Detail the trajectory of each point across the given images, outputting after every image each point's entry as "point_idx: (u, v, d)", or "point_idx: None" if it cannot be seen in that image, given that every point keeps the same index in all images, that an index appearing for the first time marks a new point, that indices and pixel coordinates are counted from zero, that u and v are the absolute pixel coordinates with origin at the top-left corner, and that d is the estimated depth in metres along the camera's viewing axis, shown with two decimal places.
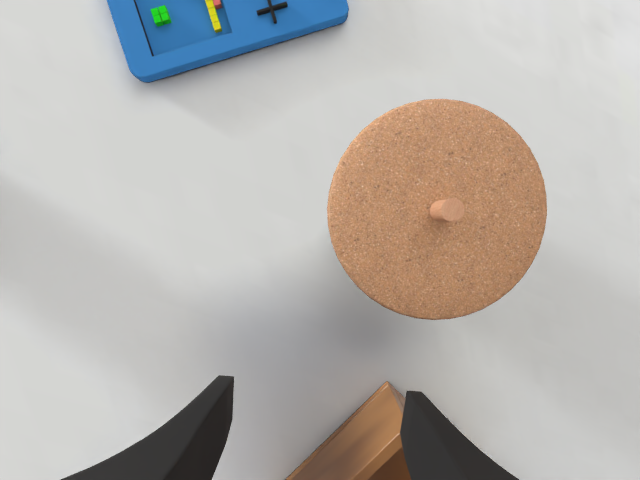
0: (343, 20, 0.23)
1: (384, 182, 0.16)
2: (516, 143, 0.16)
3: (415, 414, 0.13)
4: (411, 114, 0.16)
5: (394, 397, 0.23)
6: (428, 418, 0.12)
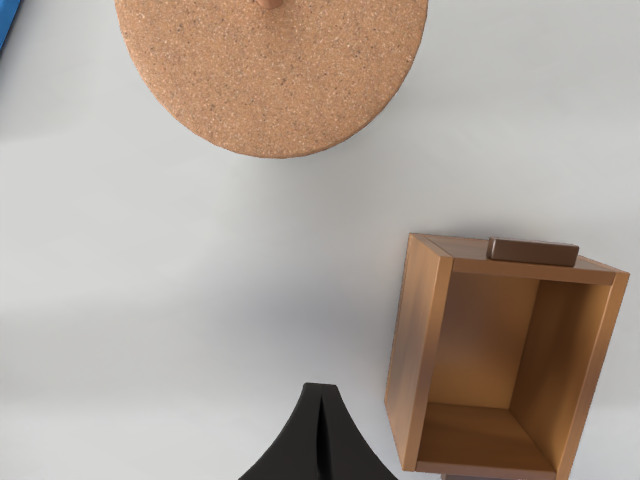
0: None
1: (183, 14, 0.11)
2: None
3: (321, 406, 0.13)
4: None
5: (420, 241, 0.19)
6: (327, 410, 0.12)
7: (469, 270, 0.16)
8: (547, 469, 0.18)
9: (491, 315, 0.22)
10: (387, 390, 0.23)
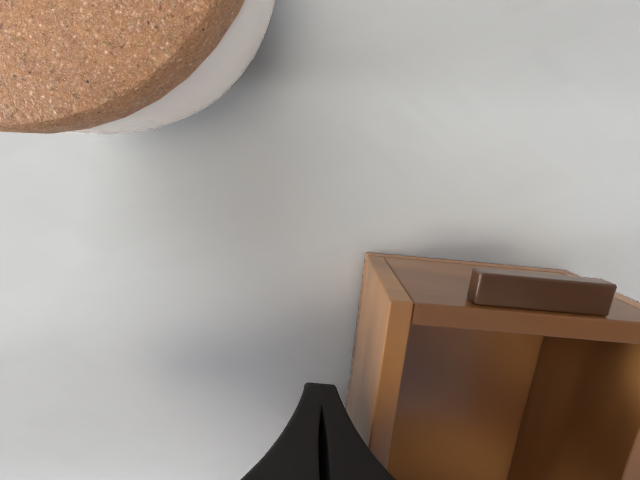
0: None
1: None
2: None
3: None
4: None
5: (374, 268, 0.13)
6: (325, 410, 0.12)
7: (439, 323, 0.10)
8: None
9: (480, 365, 0.16)
10: None
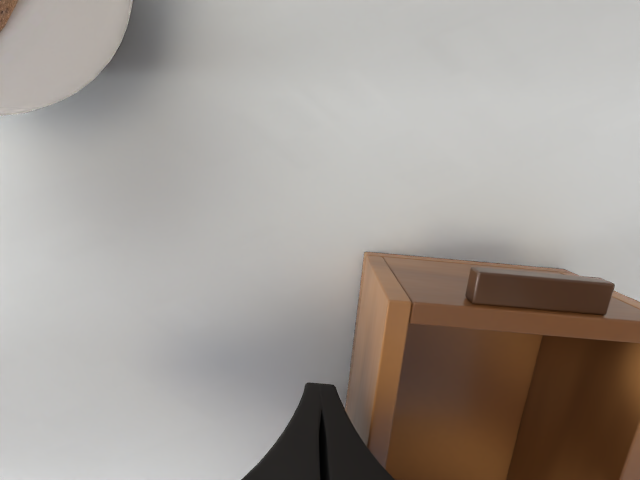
0: None
1: None
2: None
3: None
4: None
5: (373, 267, 0.13)
6: (324, 410, 0.12)
7: (437, 322, 0.10)
8: None
9: (479, 365, 0.16)
10: None
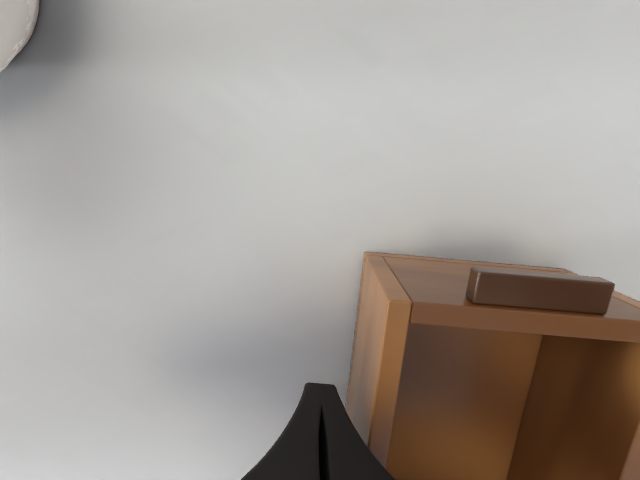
0: None
1: None
2: None
3: None
4: None
5: (373, 267, 0.13)
6: (325, 410, 0.12)
7: (437, 322, 0.10)
8: None
9: (479, 364, 0.16)
10: None
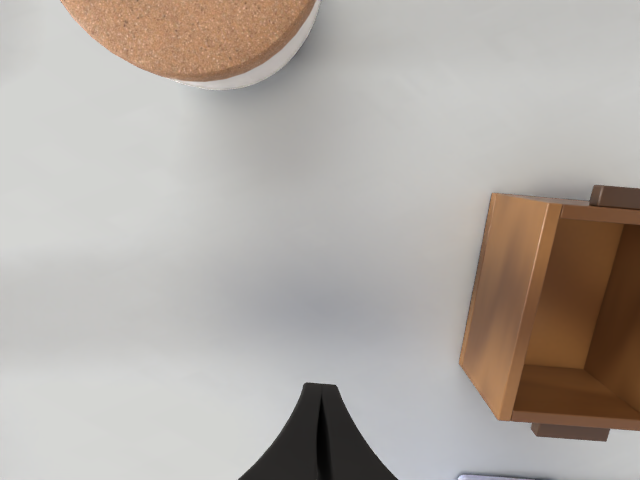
0: None
1: None
2: None
3: (321, 406, 0.13)
4: None
5: (512, 196, 0.19)
6: (327, 410, 0.12)
7: (577, 216, 0.16)
8: (639, 418, 0.19)
9: (570, 274, 0.22)
10: (464, 351, 0.23)
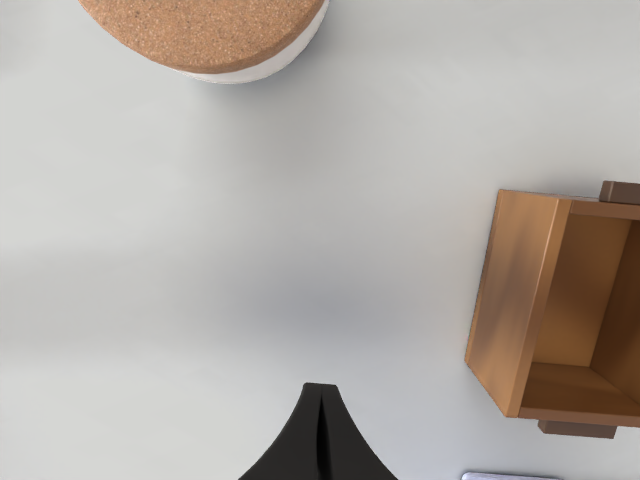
0: None
1: None
2: None
3: (321, 406, 0.13)
4: None
5: (520, 193, 0.19)
6: (327, 410, 0.12)
7: (587, 212, 0.16)
8: None
9: (577, 271, 0.22)
10: (469, 348, 0.23)
